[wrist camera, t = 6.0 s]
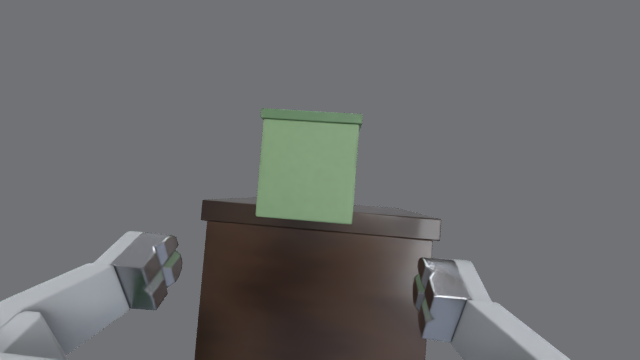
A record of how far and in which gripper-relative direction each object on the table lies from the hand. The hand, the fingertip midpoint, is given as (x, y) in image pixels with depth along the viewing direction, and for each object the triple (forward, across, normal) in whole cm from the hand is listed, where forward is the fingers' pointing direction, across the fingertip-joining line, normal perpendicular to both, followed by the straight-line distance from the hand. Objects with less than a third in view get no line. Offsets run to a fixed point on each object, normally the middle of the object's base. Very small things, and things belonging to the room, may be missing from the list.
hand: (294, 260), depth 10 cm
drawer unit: (+4, 0, +31) cm, 31 cm away
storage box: (+13, 0, +6) cm, 14 cm away
